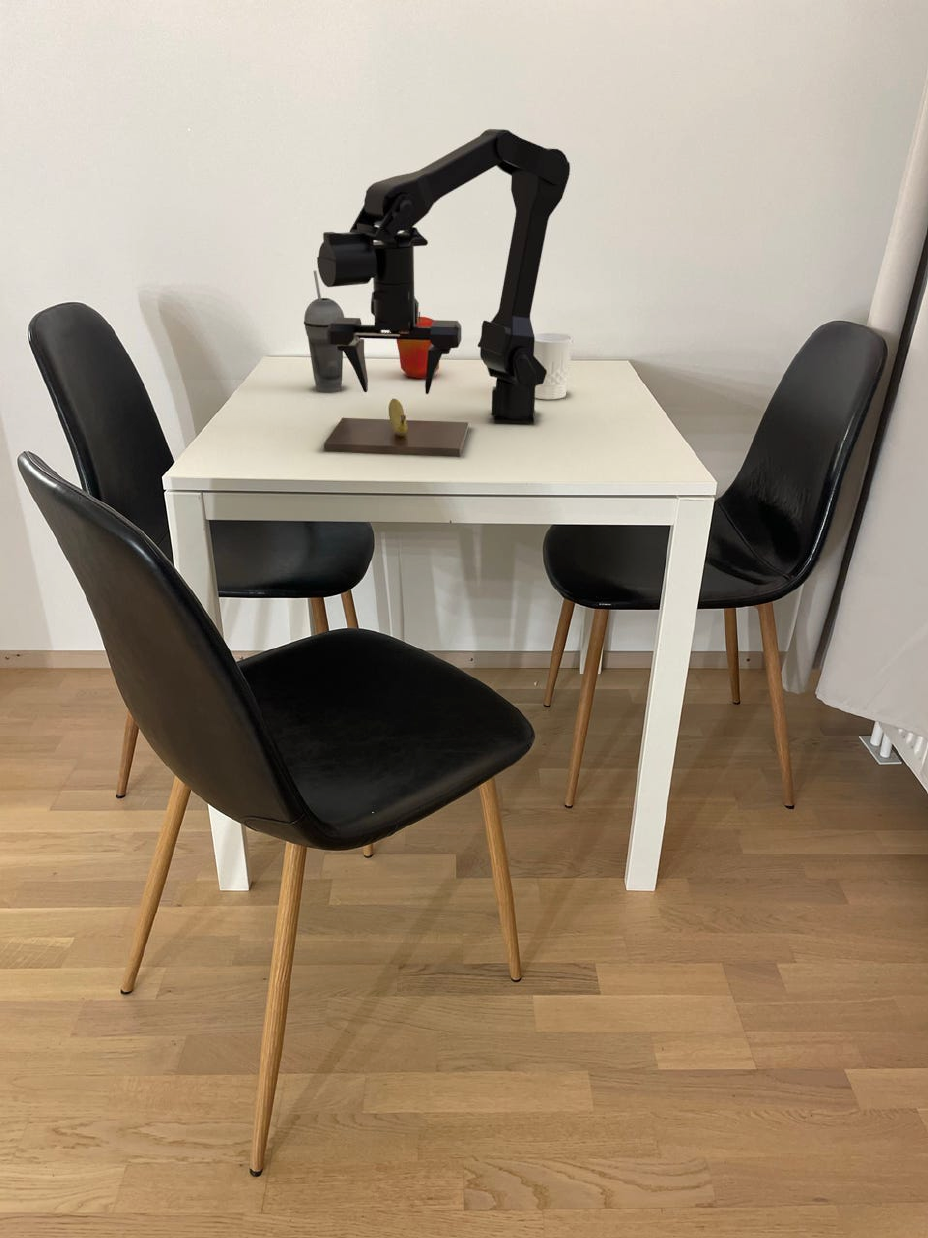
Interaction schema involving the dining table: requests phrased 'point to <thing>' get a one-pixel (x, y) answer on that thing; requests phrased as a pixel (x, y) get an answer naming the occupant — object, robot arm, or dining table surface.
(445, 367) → the dining table surface
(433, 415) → the dining table surface
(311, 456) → the dining table surface
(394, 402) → the banana
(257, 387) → the dining table surface
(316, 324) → the beverage cup
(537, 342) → the white cup
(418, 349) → the apple
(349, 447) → the walnut board
